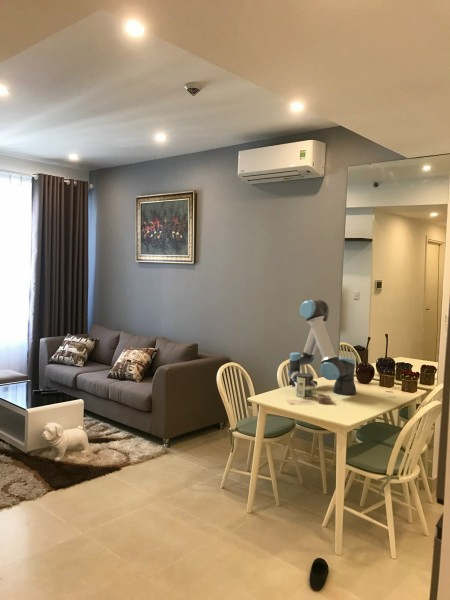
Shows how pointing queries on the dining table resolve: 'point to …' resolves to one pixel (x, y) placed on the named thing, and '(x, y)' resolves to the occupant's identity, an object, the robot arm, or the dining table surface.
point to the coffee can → (304, 385)
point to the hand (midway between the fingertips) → (306, 386)
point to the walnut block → (324, 399)
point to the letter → (300, 402)
